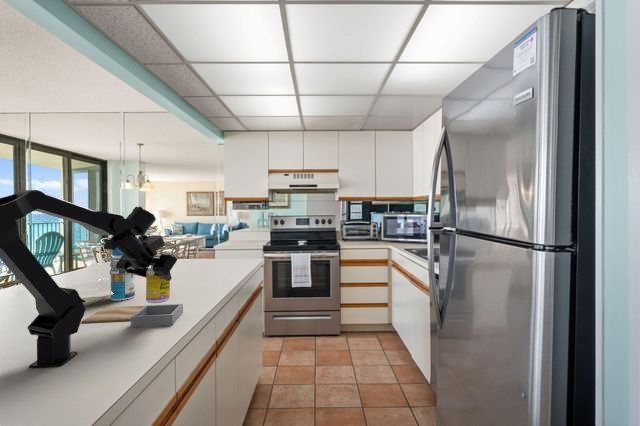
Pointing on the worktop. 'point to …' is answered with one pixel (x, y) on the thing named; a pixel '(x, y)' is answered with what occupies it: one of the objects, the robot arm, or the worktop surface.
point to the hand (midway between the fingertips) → (161, 278)
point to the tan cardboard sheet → (113, 314)
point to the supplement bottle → (156, 288)
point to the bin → (157, 315)
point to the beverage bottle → (120, 280)
